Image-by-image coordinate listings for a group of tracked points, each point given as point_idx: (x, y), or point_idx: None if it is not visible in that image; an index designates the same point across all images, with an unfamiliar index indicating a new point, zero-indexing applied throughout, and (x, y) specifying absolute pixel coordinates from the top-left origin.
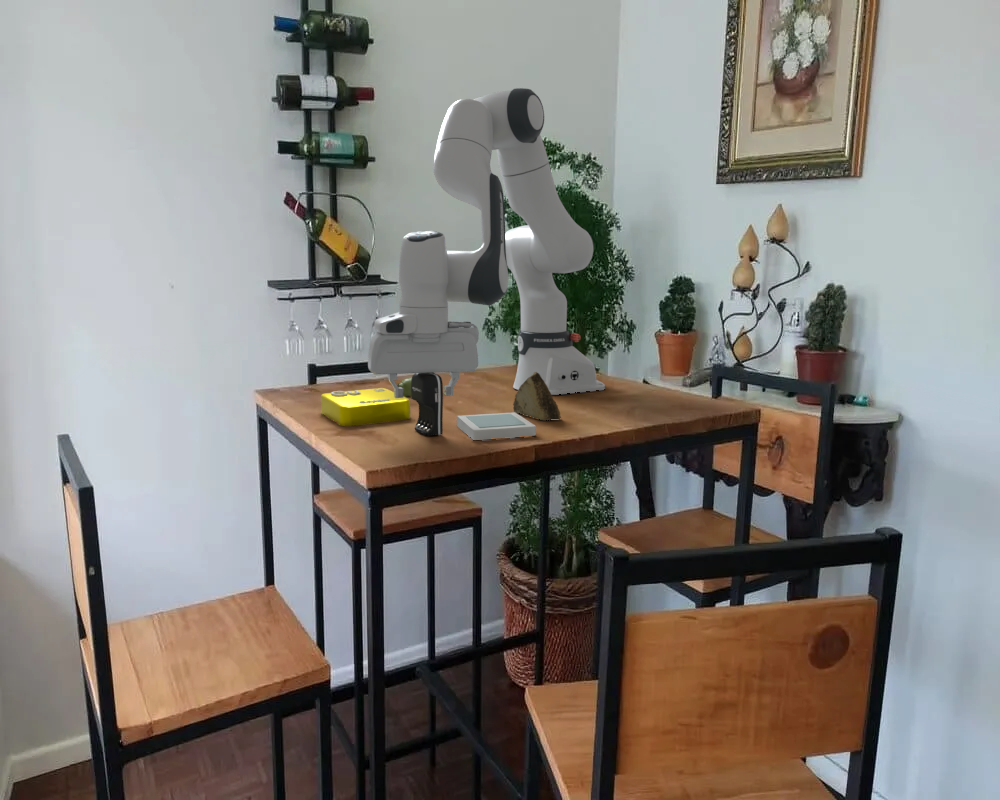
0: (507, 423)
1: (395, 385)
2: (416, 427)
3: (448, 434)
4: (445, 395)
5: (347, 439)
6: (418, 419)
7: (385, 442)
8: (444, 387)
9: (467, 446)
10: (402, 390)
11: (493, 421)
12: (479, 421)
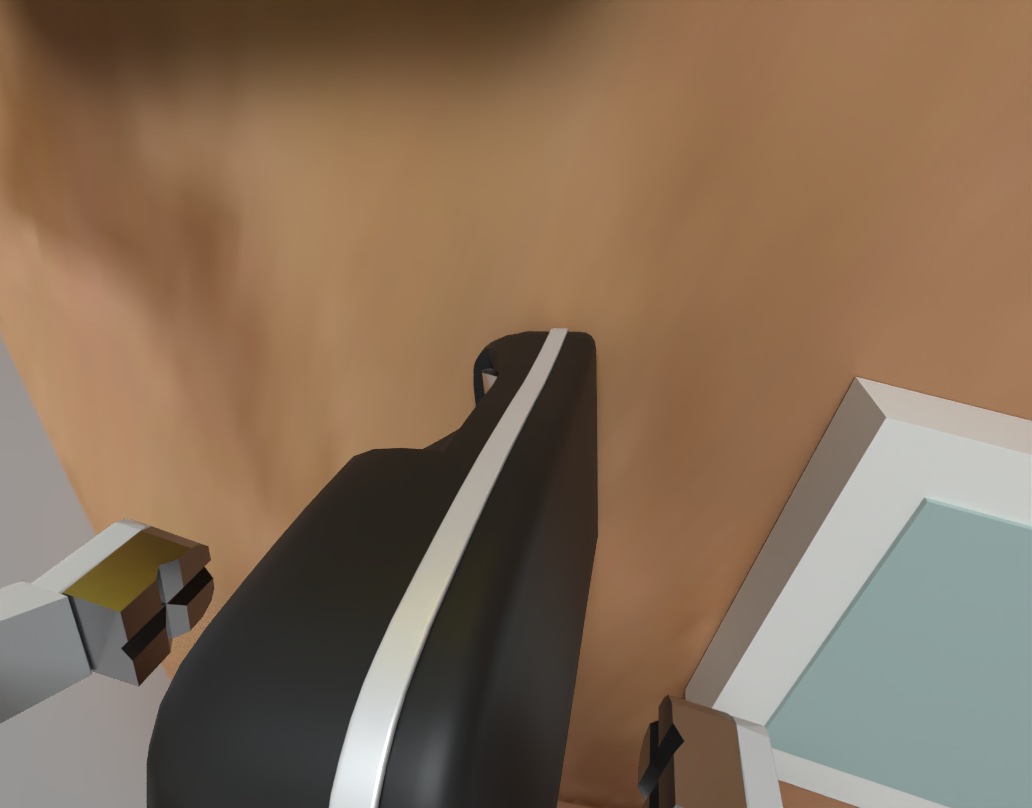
0: (1002, 790)
1: (17, 700)
2: (481, 382)
3: (644, 527)
4: (644, 740)
5: (85, 328)
6: (500, 367)
7: (267, 480)
8: (660, 805)
9: (603, 721)
10: (146, 666)
11: (967, 716)
12: (875, 665)
